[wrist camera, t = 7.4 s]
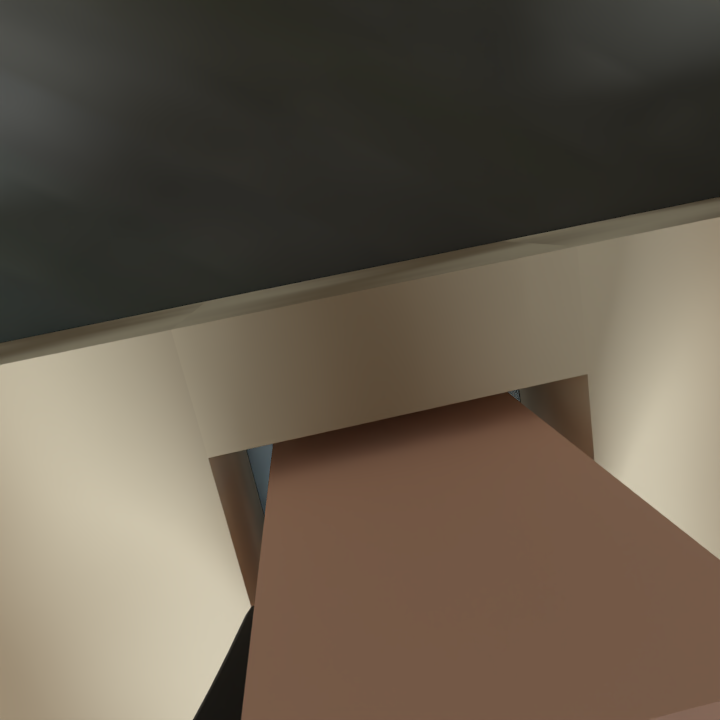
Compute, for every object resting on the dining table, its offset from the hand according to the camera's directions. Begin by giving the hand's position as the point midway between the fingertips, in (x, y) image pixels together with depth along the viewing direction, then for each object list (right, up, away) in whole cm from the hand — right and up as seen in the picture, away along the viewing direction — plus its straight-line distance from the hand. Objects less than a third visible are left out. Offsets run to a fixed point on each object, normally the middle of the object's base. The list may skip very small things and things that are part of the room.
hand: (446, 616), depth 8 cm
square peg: (0, +1, +3) cm, 3 cm away
